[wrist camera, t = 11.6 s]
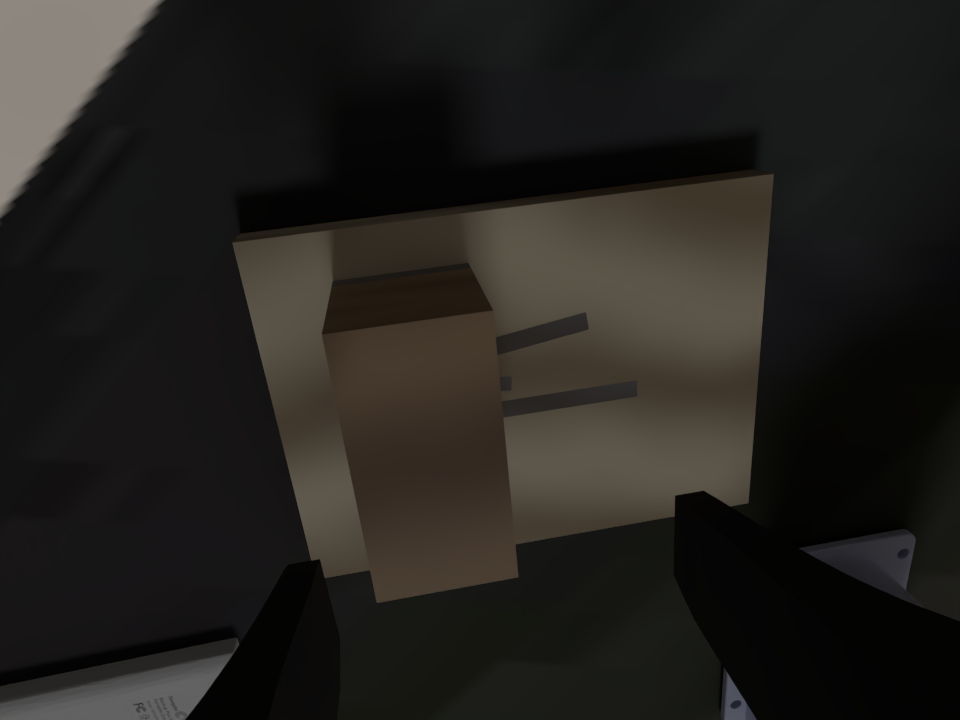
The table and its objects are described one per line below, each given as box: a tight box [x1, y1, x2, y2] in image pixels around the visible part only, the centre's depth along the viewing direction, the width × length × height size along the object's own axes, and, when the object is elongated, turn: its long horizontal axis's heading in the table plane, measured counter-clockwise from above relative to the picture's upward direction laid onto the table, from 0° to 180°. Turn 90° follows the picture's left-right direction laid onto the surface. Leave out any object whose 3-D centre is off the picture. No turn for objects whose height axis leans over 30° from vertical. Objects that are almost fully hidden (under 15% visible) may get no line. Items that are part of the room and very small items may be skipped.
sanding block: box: [322, 263, 518, 603], centre depth 19 cm, size 8×4×4 cm, turn 6°
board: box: [232, 169, 774, 578], centre depth 22 cm, size 12×16×1 cm
